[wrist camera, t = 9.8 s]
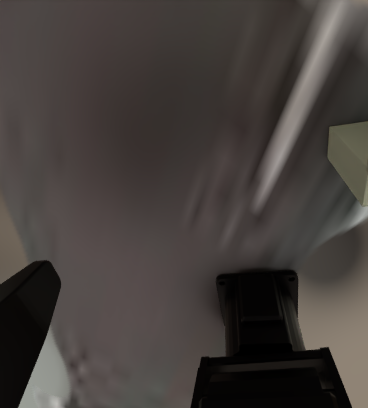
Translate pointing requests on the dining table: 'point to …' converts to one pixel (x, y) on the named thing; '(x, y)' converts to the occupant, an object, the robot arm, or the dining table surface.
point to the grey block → (351, 156)
